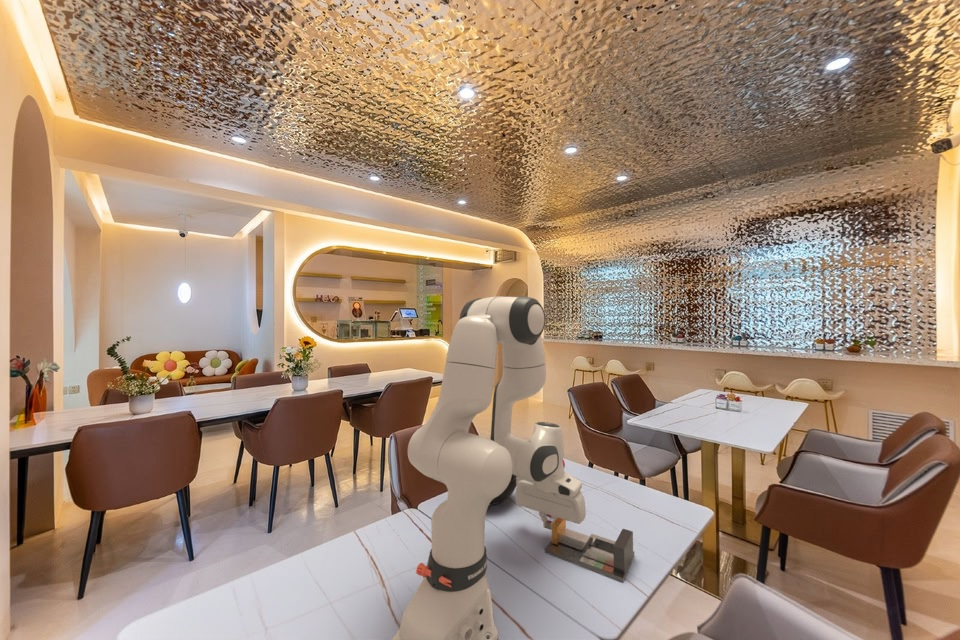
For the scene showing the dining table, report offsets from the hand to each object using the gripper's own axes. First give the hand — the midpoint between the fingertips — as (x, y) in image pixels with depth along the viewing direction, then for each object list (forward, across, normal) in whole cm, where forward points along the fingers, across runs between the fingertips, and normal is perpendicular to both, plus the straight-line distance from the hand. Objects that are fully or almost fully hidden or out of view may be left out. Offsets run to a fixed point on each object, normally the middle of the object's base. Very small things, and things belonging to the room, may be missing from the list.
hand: (549, 528), depth 103 cm
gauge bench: (+3, +11, 0) cm, 11 cm away
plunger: (+2, +7, -2) cm, 8 cm away
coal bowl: (+3, -26, +9) cm, 28 cm away
